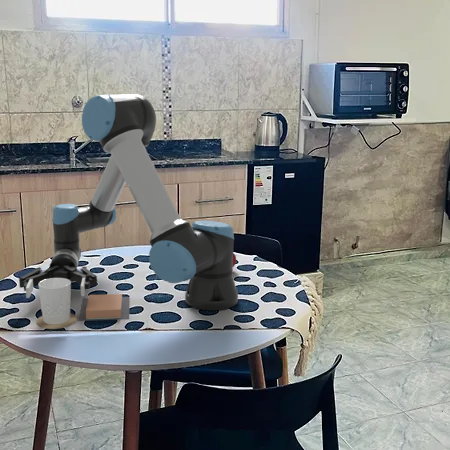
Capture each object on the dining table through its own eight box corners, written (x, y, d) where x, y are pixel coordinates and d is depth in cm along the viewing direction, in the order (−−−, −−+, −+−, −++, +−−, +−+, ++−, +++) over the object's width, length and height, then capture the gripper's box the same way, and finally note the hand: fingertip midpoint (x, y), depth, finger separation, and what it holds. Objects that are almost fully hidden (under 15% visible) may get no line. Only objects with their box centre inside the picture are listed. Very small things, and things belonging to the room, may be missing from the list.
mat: (83, 300, 167) (83, 298, 167) (129, 298, 169) (129, 296, 168) (78, 322, 152) (78, 320, 152) (129, 321, 154) (129, 318, 154)
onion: (216, 268, 196) (216, 245, 194) (232, 267, 198) (233, 244, 196) (221, 274, 191) (222, 250, 189) (238, 272, 193) (239, 249, 191)
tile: (88, 295, 162) (85, 310, 152) (122, 294, 164) (121, 309, 153) (89, 303, 163) (86, 319, 153) (122, 302, 164) (121, 318, 154)
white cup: (67, 326, 148) (65, 289, 145) (36, 325, 148) (34, 288, 145) (75, 313, 155) (74, 278, 153) (46, 312, 156) (44, 277, 153)
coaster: (85, 320, 153) (85, 317, 153) (55, 334, 145) (55, 331, 145) (58, 311, 158) (57, 309, 158) (28, 324, 150) (28, 321, 150)
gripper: (107, 276, 174) (105, 303, 154) (20, 279, 170) (5, 307, 150) (107, 252, 172) (104, 276, 152) (18, 254, 168) (3, 279, 148)
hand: (55, 292), depth 151 cm, fingers open, 13 cm apart
